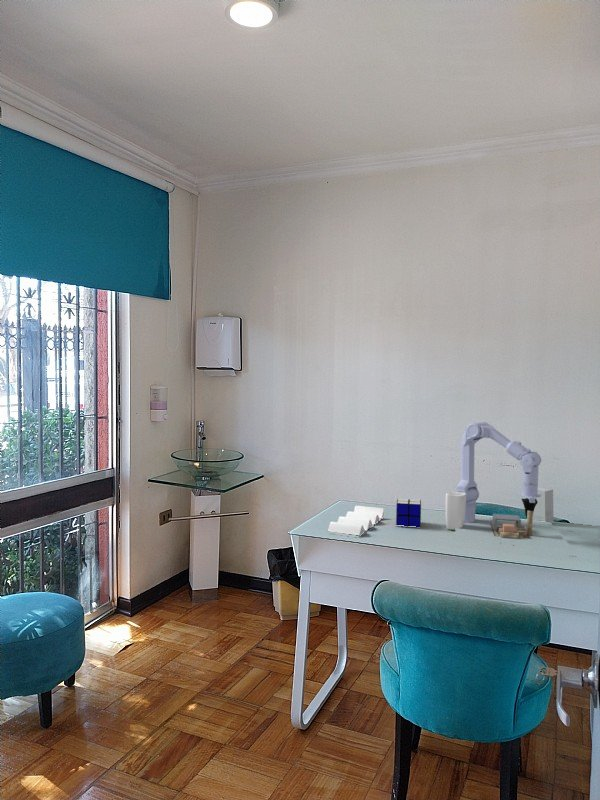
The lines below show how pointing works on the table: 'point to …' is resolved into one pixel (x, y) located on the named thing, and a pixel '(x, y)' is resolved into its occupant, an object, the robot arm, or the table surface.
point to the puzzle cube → (408, 512)
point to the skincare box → (544, 506)
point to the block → (509, 528)
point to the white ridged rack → (357, 520)
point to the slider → (516, 534)
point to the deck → (515, 528)
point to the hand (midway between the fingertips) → (528, 517)
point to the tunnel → (506, 518)
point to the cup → (455, 509)
